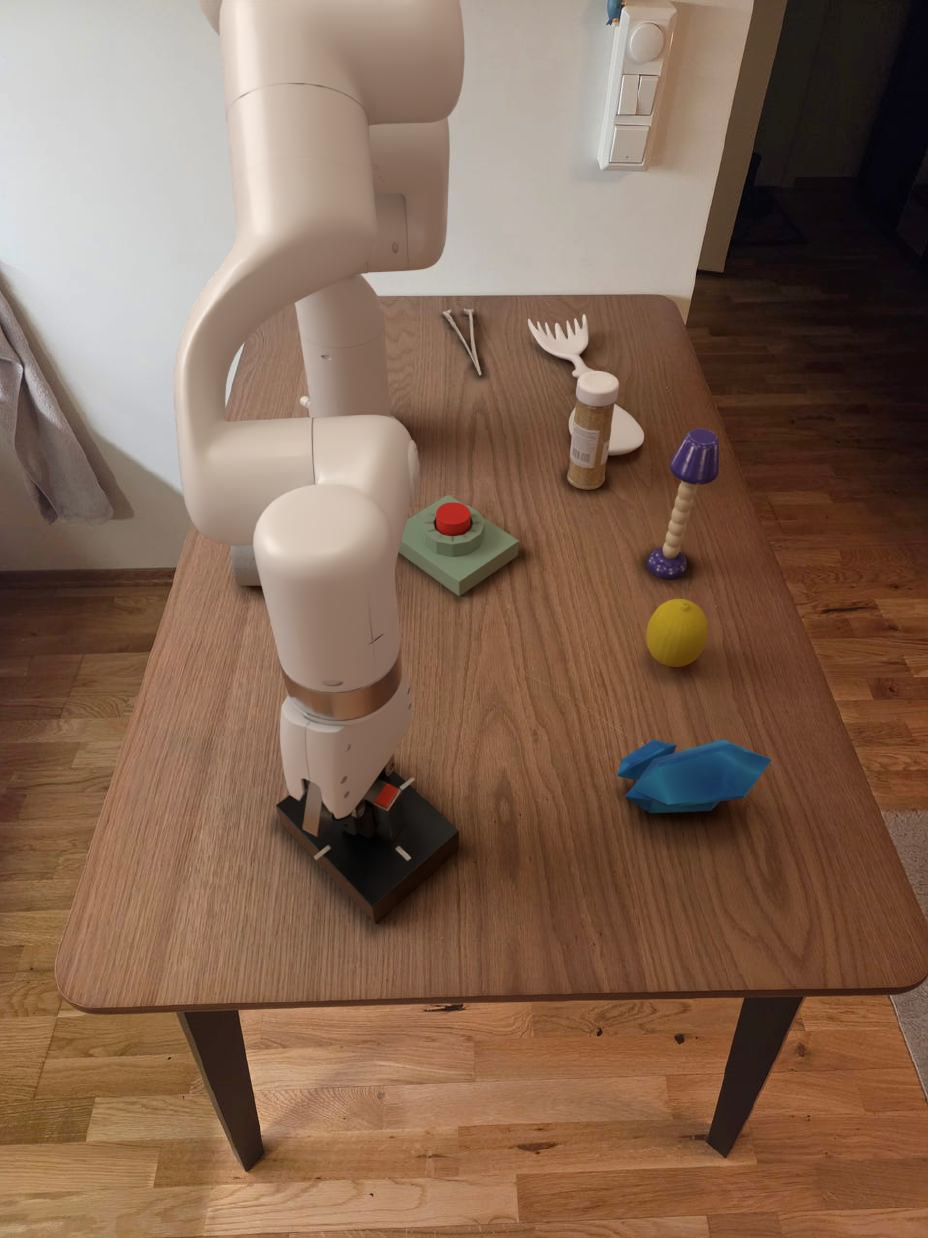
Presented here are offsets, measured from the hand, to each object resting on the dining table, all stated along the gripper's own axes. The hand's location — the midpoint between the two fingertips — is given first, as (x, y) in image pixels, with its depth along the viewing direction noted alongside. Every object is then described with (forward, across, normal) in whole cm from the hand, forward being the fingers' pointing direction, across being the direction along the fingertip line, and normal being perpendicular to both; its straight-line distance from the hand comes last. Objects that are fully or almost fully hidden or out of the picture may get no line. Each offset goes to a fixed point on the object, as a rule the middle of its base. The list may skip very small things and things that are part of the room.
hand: (365, 812), depth 68 cm
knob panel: (+4, 0, 0) cm, 4 cm away
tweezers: (+4, -73, -29) cm, 79 cm away
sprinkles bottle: (+4, -52, -2) cm, 52 cm away
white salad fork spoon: (+4, -69, -10) cm, 70 cm away
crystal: (+4, -15, +22) cm, 27 cm away
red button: (0, -34, -10) cm, 35 cm away
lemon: (+4, -30, +16) cm, 34 cm away
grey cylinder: (+4, -23, -25) cm, 34 cm away
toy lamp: (+4, -43, +11) cm, 44 cm away
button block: (+4, -34, -10) cm, 35 cm away
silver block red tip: (+1, 0, 0) cm, 1 cm away
